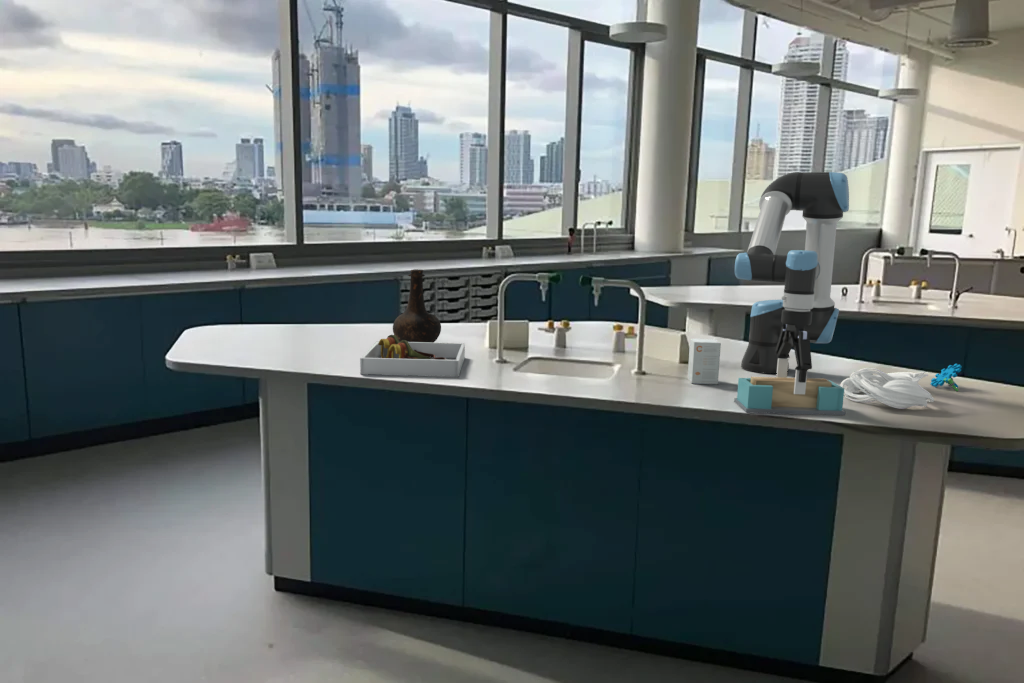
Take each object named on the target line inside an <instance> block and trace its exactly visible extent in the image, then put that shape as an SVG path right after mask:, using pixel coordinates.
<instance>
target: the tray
mask: <svg viewBox="0 0 1024 683" xmlns="http://www.w3.org/2000/svg"><path fill="white" fill-rule="evenodd" d="M379 341H380V340H377V341H376V342H375V343H374V344H373V345H372V346H371V347H370V348H369V349H368V350H367V351H366V352H364V354H363V355H361V357H360V358H359V362H360V363H359V367H360V368H359V369H360V372H359V373H360V375H368V374H382V375H383V374H384V375H383V376H408V375H418V377H454V378H458V377H460V374H461V371H462V370H461V369H462V368H463V367H462V366H463V364H464V361H465V357H466V353H465V352H466V351H465V350H466V345H465V344H466V343H465V342H464V343H463V342H434V343H432V342H408V343H409V345H410V346H411V348H412V349H413V350H417V351H419V352H423V353H429V354H433V355H435V358H437V357H444V358H446V359H447V360H435V359H434V358H431V359H396V358H382V357H381V345H378V343H379ZM448 358H449V359H448ZM385 374H386V375H385ZM382 375H381V376H382Z"/></svg>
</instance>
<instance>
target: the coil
mask: <svg viewBox="0 0 1024 683" xmlns="http://www.w3.org/2000/svg"><path fill="white" fill-rule="evenodd" d="M928 376H929V374H928V373H926V371H922V372H920V371H919V372H911V371H899V372H898V371H896V372H889V373H886V372H884V371H882V370H881V369H878V368H875V367H864V368H861V369H858V370H856V371H853V372H852V373H850V376H849V377H847V378H845V379H843V380H842V381H841V382H840V385H839V386H841V387H843V388H844V398H846V399H848V400H850V401H853V402H856V403H866V404H867V403H871V402H872V403H874V402H879V403H882V404H884V405H885V406H889V407H891V408H895V409H900V410H901V409H908V408H911V407H924V406H925V407H924V408H927V406H928V402H930V403H934V401H935V398H934V397H933V395H932V394H931V392H929V391H928V390H927V389H925V388H923V386H922V385H920V384H919V382H920V381H921V379H923V378H925V377H928ZM844 386H847V388H846V389H845V387H844ZM859 393H864V394H859Z"/></svg>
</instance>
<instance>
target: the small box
mask: <svg viewBox="0 0 1024 683" xmlns="http://www.w3.org/2000/svg"><path fill="white" fill-rule="evenodd" d="M721 344H722V343H721V342H720V341H719V340H717V339H716V338H689V350H688V351H689V352H688V353H689V354H688V368H687V380H688V381H689V382H690V383H691V384H695V385H696V384H698V385H700V384H701V385H718V384H719V373H720V363H721V362H720V360H721V359H720V358H721V348H722V347H721Z"/></svg>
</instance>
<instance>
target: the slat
mask: <svg viewBox="0 0 1024 683" xmlns="http://www.w3.org/2000/svg"><path fill="white" fill-rule="evenodd" d="M750 378H751V382H750V383H751V384H753V385H771V386H773V393H772V404H771V407H806V408H816V406H817V396H818V387H831V384H832V382H833V381H832V382H830V381H831V380H830V381H828V380H829V379H826V378H815V377H814V378H810V377H807V380H806V390H805V394H794V384H795V377H787V378H781V377H776V376H775V377H774V376H771V377H770V376H750Z"/></svg>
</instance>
